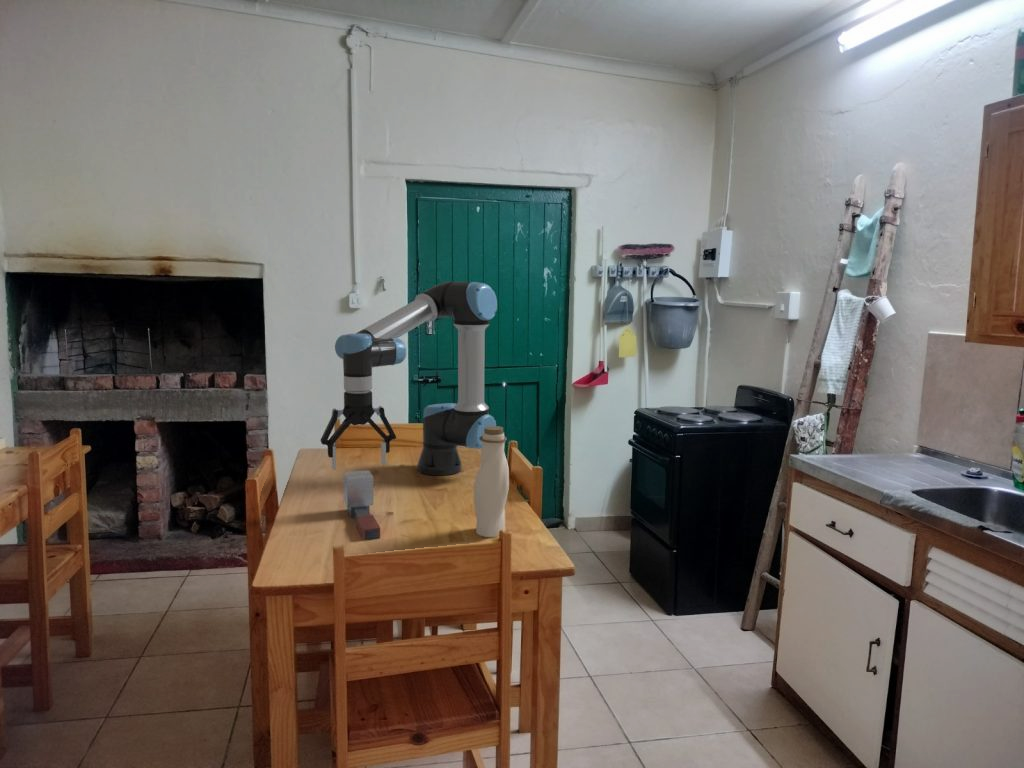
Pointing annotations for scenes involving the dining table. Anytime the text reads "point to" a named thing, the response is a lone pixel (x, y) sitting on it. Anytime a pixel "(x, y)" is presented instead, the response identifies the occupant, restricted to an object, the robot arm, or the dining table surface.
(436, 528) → the dining table surface
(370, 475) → the grey stone cube
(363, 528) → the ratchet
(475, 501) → the water bottle
